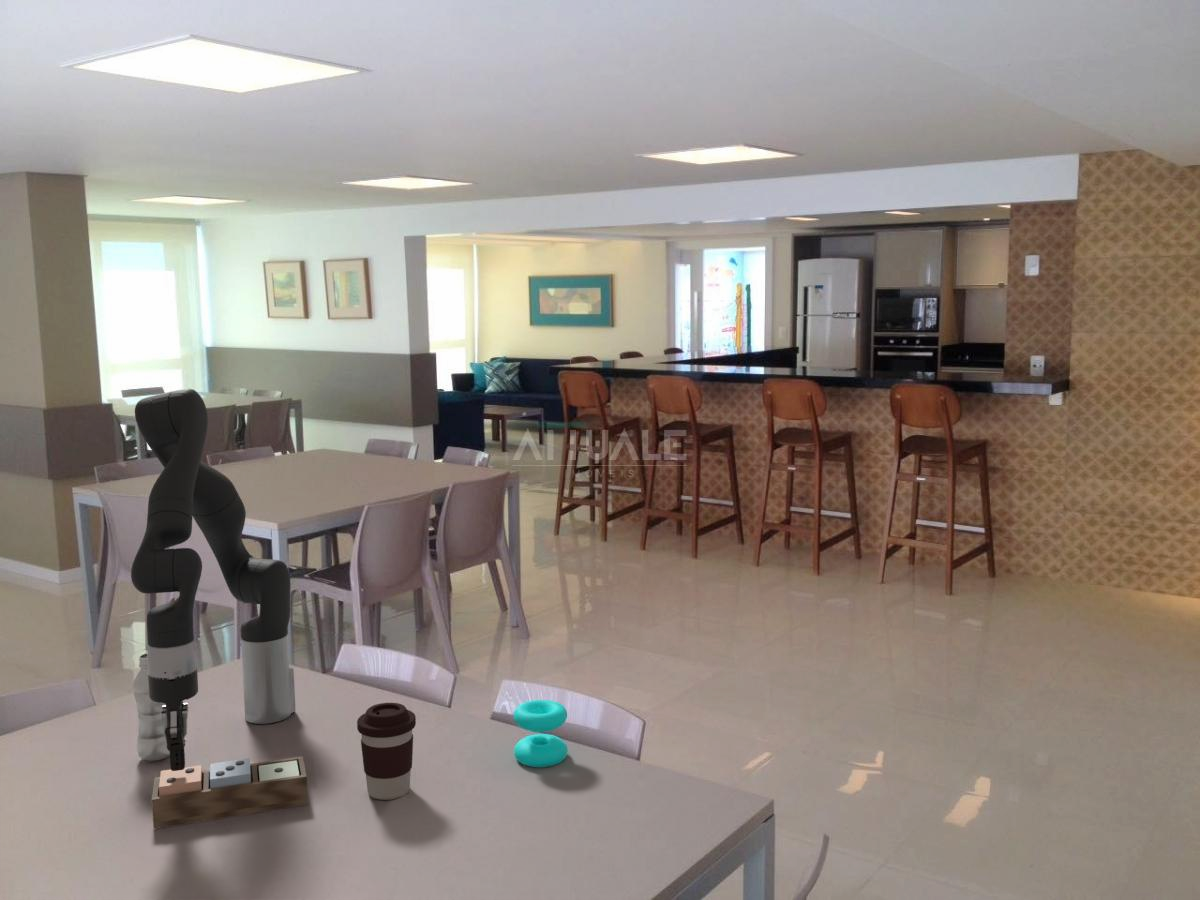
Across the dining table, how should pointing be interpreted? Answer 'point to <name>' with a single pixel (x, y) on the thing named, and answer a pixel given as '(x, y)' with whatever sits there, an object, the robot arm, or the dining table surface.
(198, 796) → the dice tray set
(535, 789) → the dining table surface
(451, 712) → the dining table surface
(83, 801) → the dining table surface
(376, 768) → the coffee cup
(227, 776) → the button three
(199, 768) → the button two
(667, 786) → the dining table surface
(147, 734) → the plastic bottle
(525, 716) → the donuts
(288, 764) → the button one
